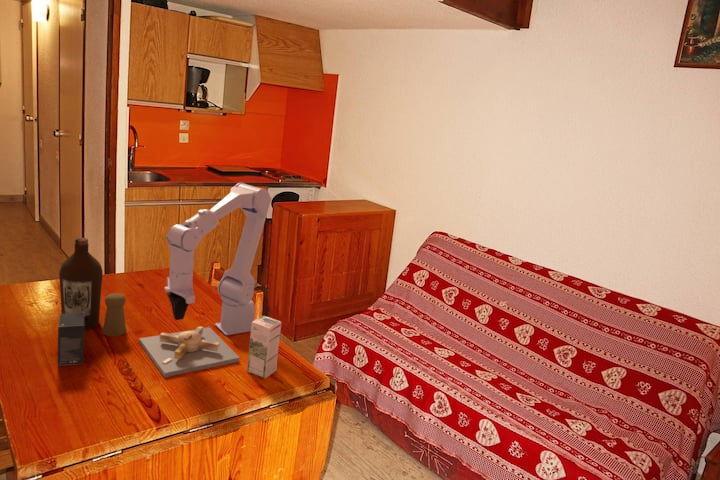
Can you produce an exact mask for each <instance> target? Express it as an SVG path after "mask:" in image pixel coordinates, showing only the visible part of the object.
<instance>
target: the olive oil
mask: <svg viewBox="0 0 720 480" xmlns="http://www.w3.org/2000/svg"><path fill="white" fill-rule="evenodd" d="M58 272H59V274H58V275H59V277H58V278H59V287H60V289H59V290H60V291H59V292H60V307H61V308H60V310H61V311H60V312H61V313H60V314H66V313H84V315H85V316H84V331H86V330H90V329H93V328H96V327H97V326H98V325H99V324H100V310H101V297H102V285H103V284H102V283H103V268H102V265H101V262H100V261H99V260H98V259H96V258H95V257H94V256H93V255H92V254H91V253H90V252H89V238H87V237H77V238H75V239H74V252H73V253H72V254H71V255H70V256H69V257H68V258H66V259H65V260H64V261H63V262H62V264H61V265H60V269H59V271H58Z"/></svg>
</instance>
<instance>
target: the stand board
mask: <svg viewBox="0 0 720 480" xmlns="http://www.w3.org/2000/svg"><path fill="white" fill-rule="evenodd" d="M194 330H195V329H191V330H189V329H188V331H194ZM186 331H187V330H184V331H178V332H176V331H175V332H172V333H169V334H174V335H179V334H180V333H182V332H186ZM201 336H202V337H201V339H203V340H208V341H214V342H220V343H219V350H218V351H212V350H206V349H199V350H198V351H195V352H186V353H185V354H184V355H183V356H182V357H181V358H180V359H175V358H174V354H175V350H176V349H177V348H178V345H177V344H172V343H166V342H160V334H159V335H152V336H146V337H140V338H139V340H138V341H139V342H138V343H139V344H140V346H141V347H142V349H143V350H144V351H145V353H146V354H147V355H148V357H149V359H150V360H151V361H152V362H153V364H154V365H155V367H157V369H158V371H159V372H160V373H161V375H162V376H163V378H168V377H173V376H178V375H181V374H186V373H187V374H188V373H192V372H197V371H201V370H206V369H212V368H215V367H221V366H225V365H229V364H230V365H231V364H234V363H238V362H240V356H239V355H238V354H237V353H236V352H235V351H234V350H233V349H232V348H231V347H230V346H229V345H228V344H227V343H226V342H225V341H224V340H223V339H222V338H221V337H220V336H219V335H218V334H217V333H216V332H215V331H214V330H213V329H212V328H211V327H210V326H207V327H203V334H202V335H201Z"/></svg>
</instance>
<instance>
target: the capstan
mask: <svg viewBox="0 0 720 480" xmlns="http://www.w3.org/2000/svg"><path fill="white" fill-rule="evenodd" d="M203 328H204V326H198V327H196V328H195V329H193V330H194V331H189V330H185V331H186V332H183V331H181V332H182V333H180V334H179V335H174V334H170V333H168V332H161V333H160V334H159V335H160V342H166V343H172V344H177V345H178V348H177V349H176V350H175V354H174V358H175V359H180V358H181V357H182V356H183V355H184V354H185V353H186V352H195V351H198V350H199V349H206V350H212V351H218V350H219V343H220V342H214V341H208V340H203V339H201V337H202V336H201V335H202V334H203Z"/></svg>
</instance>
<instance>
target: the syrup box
mask: <svg viewBox="0 0 720 480" xmlns="http://www.w3.org/2000/svg"><path fill="white" fill-rule="evenodd" d="M281 328H282V321H280V320H277V319H275V318H272V317H270V316H266V315H262V316H259V317H258V318H255V319H254V321H253V322H252V324H251V331H250V338H249V347H248V348H249V349H248V360H247V370H246V371H247V373H250V374H252V375H255V376H257V377H259V378H261V379H266V378H268V377H269V376H271V375H272V374H274V373H275V372H276V371H277V366H278V354H279V346H280V337H281V330H282V329H281Z"/></svg>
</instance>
